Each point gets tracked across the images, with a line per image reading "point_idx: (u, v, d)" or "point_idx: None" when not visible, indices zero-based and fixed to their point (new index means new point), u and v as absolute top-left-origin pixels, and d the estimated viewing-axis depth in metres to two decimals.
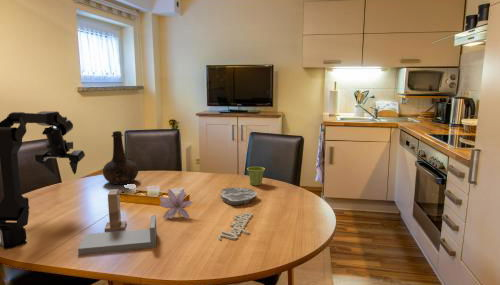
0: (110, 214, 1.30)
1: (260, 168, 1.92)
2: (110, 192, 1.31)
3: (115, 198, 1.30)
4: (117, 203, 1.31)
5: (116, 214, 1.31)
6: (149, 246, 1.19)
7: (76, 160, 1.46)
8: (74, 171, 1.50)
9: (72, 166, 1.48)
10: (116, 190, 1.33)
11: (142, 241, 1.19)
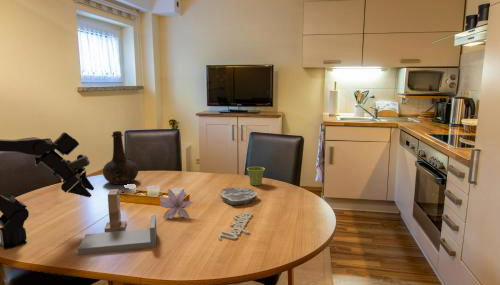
0: (110, 214, 1.30)
1: (260, 168, 1.92)
2: (110, 192, 1.31)
3: (115, 198, 1.30)
4: (117, 203, 1.31)
5: (116, 214, 1.31)
6: (149, 246, 1.19)
7: None
8: None
9: None
10: (116, 190, 1.33)
11: (142, 241, 1.19)
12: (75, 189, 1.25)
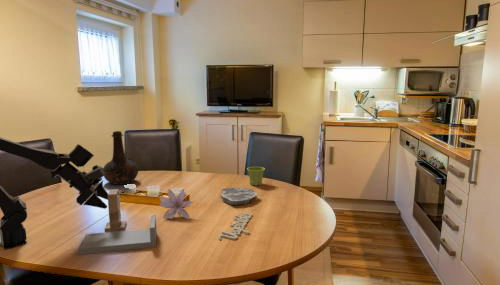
0: (110, 214, 1.30)
1: (260, 168, 1.92)
2: (110, 192, 1.31)
3: (115, 198, 1.30)
4: (117, 203, 1.31)
5: (116, 214, 1.31)
6: (149, 246, 1.19)
7: None
8: (100, 207, 1.27)
9: None
10: (116, 190, 1.33)
11: (142, 241, 1.19)
12: (91, 201, 1.25)
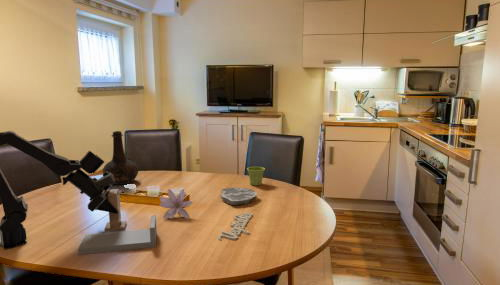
0: (110, 214, 1.30)
1: (260, 168, 1.92)
2: (110, 192, 1.31)
3: (115, 198, 1.30)
4: (117, 203, 1.31)
5: (116, 214, 1.31)
6: (149, 246, 1.19)
7: None
8: (111, 212, 1.29)
9: None
10: (116, 190, 1.33)
11: (142, 241, 1.19)
12: (102, 206, 1.28)
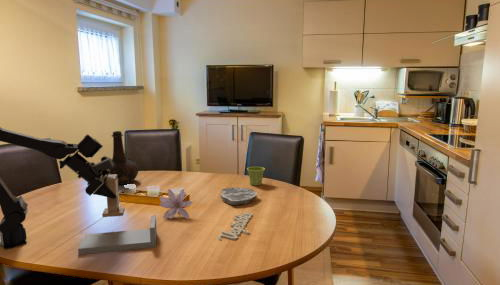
0: (108, 199, 1.28)
1: (260, 168, 1.92)
2: (108, 177, 1.29)
3: (113, 183, 1.27)
4: (115, 188, 1.28)
5: (114, 199, 1.28)
6: (149, 246, 1.19)
7: None
8: (109, 197, 1.27)
9: None
10: (114, 175, 1.31)
11: (142, 241, 1.19)
12: (100, 191, 1.25)
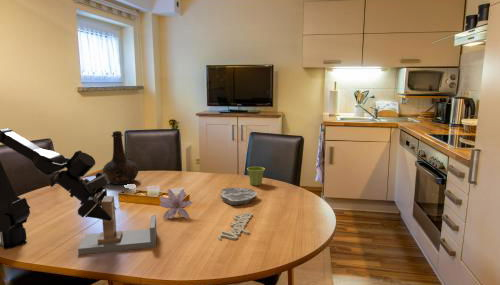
0: (104, 224, 1.16)
1: (260, 168, 1.92)
2: (104, 199, 1.17)
3: (109, 206, 1.16)
4: (112, 211, 1.17)
5: (111, 224, 1.17)
6: (149, 246, 1.19)
7: None
8: (103, 219, 1.14)
9: None
10: (111, 197, 1.20)
11: (142, 241, 1.19)
12: (93, 212, 1.12)
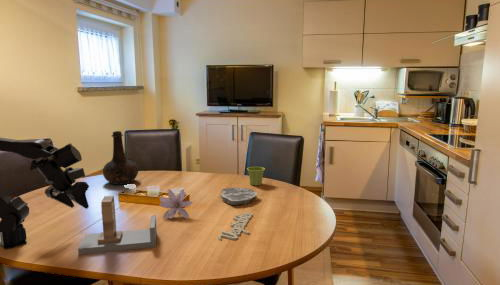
0: (104, 224, 1.16)
1: (260, 168, 1.92)
2: (104, 199, 1.17)
3: (109, 206, 1.16)
4: (112, 211, 1.17)
5: (111, 224, 1.17)
6: (149, 246, 1.19)
7: (73, 196, 1.16)
8: (83, 206, 1.22)
9: (76, 202, 1.20)
10: (111, 197, 1.20)
11: (142, 241, 1.19)
12: (78, 197, 1.20)
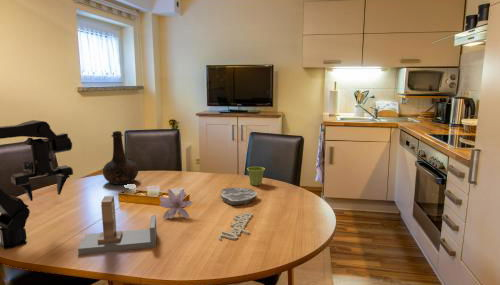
0: (104, 224, 1.16)
1: (260, 168, 1.92)
2: (104, 199, 1.17)
3: (109, 206, 1.16)
4: (112, 211, 1.17)
5: (111, 224, 1.17)
6: (149, 246, 1.19)
7: (71, 173, 1.32)
8: (61, 190, 1.32)
9: (63, 182, 1.31)
10: (111, 197, 1.20)
11: (142, 241, 1.19)
12: None
